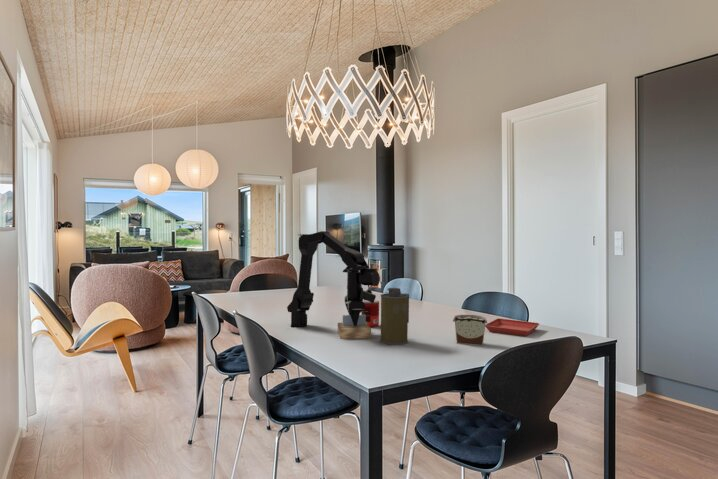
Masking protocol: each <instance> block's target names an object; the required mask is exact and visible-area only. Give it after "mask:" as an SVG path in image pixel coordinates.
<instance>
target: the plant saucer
mask: <svg viewBox="0 0 718 479" xmlns="http://www.w3.org/2000/svg"><path fill="white" fill-rule="evenodd" d="M539 325H540V323H539V322H534V321H533V322H532V321H523V320H514V319H507V318H496V319H494V320H492V321H489V322H487V323H486V324H485V329H487V330H488V331H489V332H490V333H495V334H496V333H497V334H503V333H504V334H505V335H511V336H520V337H527V336H528V335H529V334H532V332H534V331H535V330H536V329H537V327H538V326H539Z"/></svg>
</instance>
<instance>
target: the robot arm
mask: <svg viewBox="0 0 718 479" xmlns="http://www.w3.org/2000/svg"><path fill="white" fill-rule="evenodd" d="M320 244H324V245H325V246H327V247H328V248H329V249H330V250H332V251H333V252H334V253H336V254H337V255H338V256H339V257H340V258H341V261H342V262H343V263H344V264H345V265H346V267H345V268H344V269H343V270H342V273H347V274H346V275H347V277H346V278H347V280H346V283H347V284H346V295H345V296H344V306H345V308H346V310H347V313H348V315H350V316H351V319H352V322H353V325H354V326H357V323H358V319H359V315H361V312H362V311H363V310H364V309H365V303H364V302H363V300H367V301H370V302H371V303H374V301H375V299H376V298H377V295H376V294H374V293H373V291H372V290H371V289H366V290H364V288H363V287H362V286H370V287H377V286H378V285H379V284H380V283H381V282H380V281H381V276H380V273H379V272H378V268H377V267H373V268H370V266H369V264H368V263H367V261H366V259H365V255H364V254H363V253H362V252H360V251H358V250H356V249H353V248H350V247H348V246H347V245H345V244H344V243H343V242H341V241H340V240H339V239H338V238H336V237H335V236H333V235H332V234H331V233H330V232H329V231H327V230H326V231H325V230H324V231H323V230H322V231H321V230H320V231H317V232H313V233H309V234H308V233H305V234H301V235H300V236H299V237H298V250H299V252H300V255H301V256H300V264H299V275H298V282H297V288H296V289H295V291H294V293H293V296H292V300H291V302H290V303H289V304H288V305H287V307H286V309H287V312H288V313H290V318H291V319H290V327H292V328H293V327H294V328H295V327H297V328H298V327H299V328H300V327H302V328H303V327H307V325H308V313H307V311H310V309H311V306H312V304H313V302H314V296H315V293H314V292H311V289H310V286H311V285H310V284H311V276H312V267H313V260H314V259H313V258H314V255H315V253H316V251H317V250H318V246H319V245H320Z"/></svg>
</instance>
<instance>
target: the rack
mask: <svg viewBox="0 0 718 479" xmlns="http://www.w3.org/2000/svg"><path fill="white" fill-rule="evenodd" d="M337 334H338V337H339V339H341V340H343V339H344V340H345V339H371V338H372V327H370V326H369V324H367V322H366V326H342V322H337Z"/></svg>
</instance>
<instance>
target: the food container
mask: <svg viewBox="0 0 718 479" xmlns="http://www.w3.org/2000/svg"><path fill="white" fill-rule="evenodd" d="M452 322H454V326H455V336H456V337H455V341H456V345H457V344H458V345H459V344H460V345H471V346H482V347H483V346H484V339H485V332H486V327H485V325H486V324H488V320H487V318H486V317H485V316H482V315H478V314H477V315H476V314H459V315H458V314H456V315H454V317H453V320H452Z"/></svg>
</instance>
